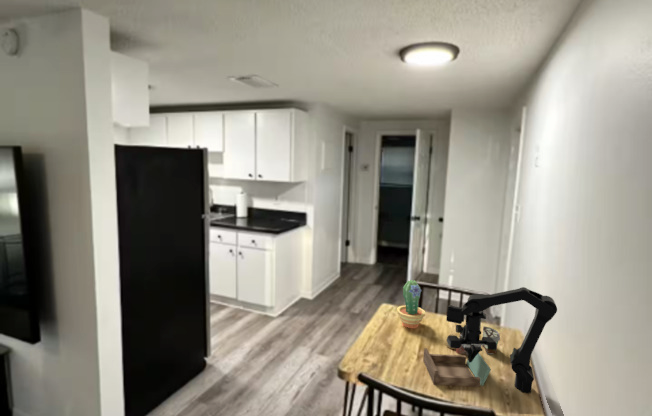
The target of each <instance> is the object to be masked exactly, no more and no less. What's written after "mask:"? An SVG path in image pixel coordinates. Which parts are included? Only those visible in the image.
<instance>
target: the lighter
mask: <svg viewBox="0 0 652 416" xmlns="http://www.w3.org/2000/svg"><path fill="white" fill-rule="evenodd" d="M458 337H459V339H464V338H463V337H462V334H461V335H460V334H459V336H458ZM470 348H471V346H470ZM455 352H456V354H457V355H465V354H466V350H464V349H463V347H462V346H461V347H460V348H456V350H455ZM466 355H467V354H466Z"/></svg>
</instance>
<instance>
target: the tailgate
mask: <svg viewBox="0 0 652 416" xmlns="http://www.w3.org/2000/svg"><path fill="white" fill-rule="evenodd" d="M465 364H466V366H467V367H468V369H469V370H470V372H471V373H472V375H474V376H473V377H480V386H484V384H485V382H486V380H487V379H488V377H489V375H490V372H491V371H492V368H490V366H489V365H488V364H487V362H486V361H485V359H484V358H483V356H482V355H481V353H480V352H479V353H478V354H477V355H476V357H475V358H474V359H473V361H472V362H469V361H468V359H466V363H465Z"/></svg>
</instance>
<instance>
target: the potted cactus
mask: <svg viewBox="0 0 652 416" xmlns="http://www.w3.org/2000/svg"><path fill="white" fill-rule="evenodd" d="M421 292H422V289H421V287H420V285H419V284H418V282H417V281H416V280H415V279H413V280H412V279H410V280H408V281H406V283H405V284H404V285H403V287H402V295H403V299H404V302H405V305H400V306H398V307H397V308H396V312H397V314H398V316H399V317H398V318H399V319H400V321H401V325H402V326H403V327H404V326H405V328H407V327H408V328H407V329H418V328H419V324H421V322H422V321H423V319H424V317H425V316H426V311H425V309H423V308H421V307H419V301H420V300H419V299H420V298H421Z"/></svg>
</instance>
